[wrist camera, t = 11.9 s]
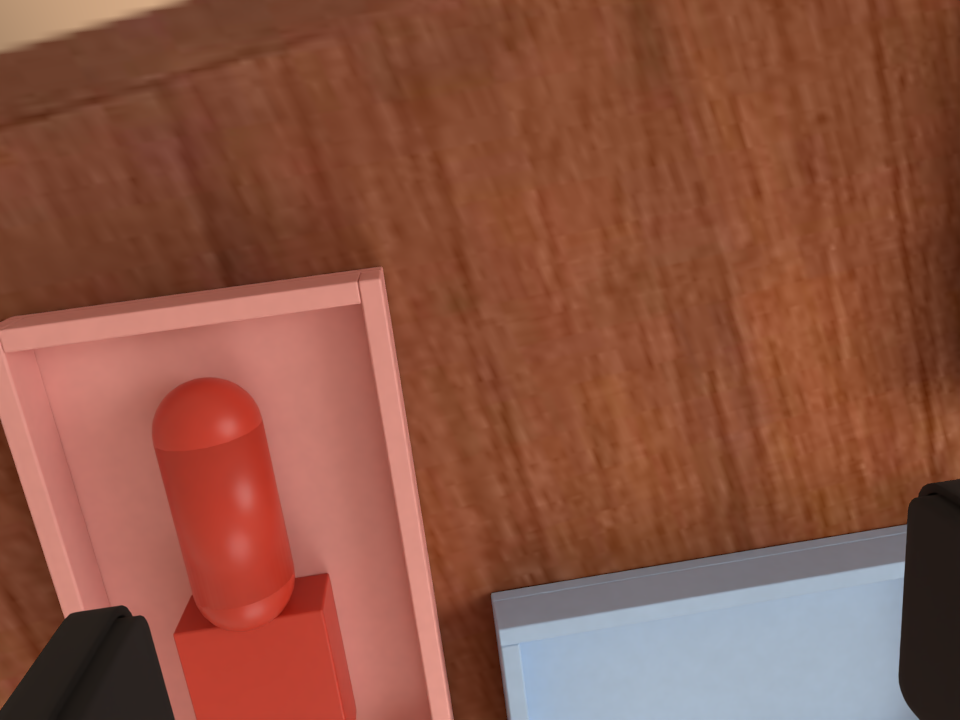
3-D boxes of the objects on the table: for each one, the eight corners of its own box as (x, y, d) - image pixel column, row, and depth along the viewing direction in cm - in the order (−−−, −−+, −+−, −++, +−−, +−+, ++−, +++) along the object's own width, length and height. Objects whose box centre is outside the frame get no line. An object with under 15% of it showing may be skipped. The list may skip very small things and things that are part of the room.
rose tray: (154, 785, 25) (133, 837, 23) (10, 316, 21) (-29, 333, 19) (456, 732, 26) (460, 778, 24) (382, 266, 21) (380, 278, 19)
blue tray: (490, 592, 25) (498, 630, 23) (962, 514, 26) (1007, 544, 24) (522, 835, 28) (532, 887, 26) (945, 756, 29) (985, 800, 27)
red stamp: (133, 376, 21) (94, 409, 18) (285, 354, 21) (268, 384, 19) (227, 733, 24) (206, 805, 22) (357, 710, 25) (352, 779, 22)
